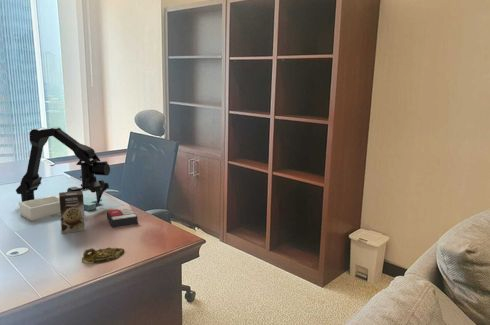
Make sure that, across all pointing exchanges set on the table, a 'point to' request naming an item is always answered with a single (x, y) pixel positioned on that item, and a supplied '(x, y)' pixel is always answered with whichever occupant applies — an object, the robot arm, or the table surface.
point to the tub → (40, 208)
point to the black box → (122, 217)
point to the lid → (90, 202)
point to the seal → (101, 255)
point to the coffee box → (72, 211)
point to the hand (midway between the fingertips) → (89, 204)
